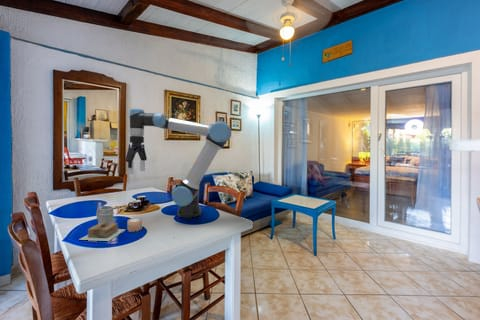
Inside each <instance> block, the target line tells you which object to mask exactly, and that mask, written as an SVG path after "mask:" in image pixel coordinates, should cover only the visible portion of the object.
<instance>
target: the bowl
mask: <svg viewBox="0 0 480 320" xmlns="http://www.w3.org/2000/svg"><path fill="white" fill-rule="evenodd" d="M126 226H127V230H128V231H127V232H129V233H134V232H135V231H136V232H139V230H140V231H142V230H143V219H142V218H141V217H133V218H129V219H128V220H127V225H126Z"/></svg>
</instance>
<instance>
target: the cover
mask: <svg viewBox="0 0 480 320" xmlns="http://www.w3.org/2000/svg"><path fill="white" fill-rule="evenodd" d="M118 229H119V223H118V222H114V223H99V224H98V223H97V224H96V225H93V226H91V227H90V228H88V229H87V235H88V237H90V238H108V237H109V236H111V235H113V234H114V233H116V232H117V231H118Z"/></svg>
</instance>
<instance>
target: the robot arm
mask: <svg viewBox="0 0 480 320" xmlns="http://www.w3.org/2000/svg"><path fill="white" fill-rule="evenodd" d="M128 118H129V130H128V131H129V135H130V136H129V144H128V147H127V148H128V149H127V153H126V156H125V162H126V163H127V174H128V175H129V174H130V175H133V174H134V168H135V167H134V159H135V157H136V155H137V154H138V157H139V172H145V170H146V168H145V167H146V161H148V160H147V159H148V158H147V154H146V149H145V144H144V143H145V137H144V136H145V127H156V128H160V129H164V130H171V131H176V132H180V133H187V134H192V135H197V136H202V137H203V136H204V137H205V139H204V140H205V143H204V145H203V146H202V148H201V150H200V152H199V154H198V156H197V157H196V159H195V161H194V163H193V164H192V165H191V168H190V170H189V171H188V173H187V175H186V176H185V177H183V178H181V179H180V181H179V183H178V185H177V187H175V188H174V189H173V191H172V193H171V198H172V201H173V202H174V204H175V205H177V206H179V207H178V209H177V217H179V218H181V217H183V218H182V219H193V218H192V217H195V218H197V217H196V216H199V215H200V214H201V215H202V209H201V206H200V203H199V201H200V183H201V182H202V180H203V177H204V176H205V174H206V172H207V171H208V169H209V168H210V166H211V164H212V162H213V161H214V159H215V157H216V156H217V154H218V152H219V151H220V150H223V148H224V147H225V145H226V143H227V142H228V141H229V140H230V138H231V137H232V130H231V127H230V125H229V124H228V123H227V122H225V121H221V120H219V121H215V122H213V123H210V124H205V123H203V122H196V121H190V120H184V119H180V118H179V119H178V118H174V117H169V116H168V117H167V116H165V113H159V112H156V113H155V112H153V113H152V112H150V113H149V112H145V110H144V109H141V108H131V109H130V111H129V117H128ZM201 215H200V216H201ZM200 216H199V217H200Z"/></svg>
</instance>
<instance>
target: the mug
mask: <svg viewBox="0 0 480 320" xmlns="http://www.w3.org/2000/svg"><path fill="white" fill-rule="evenodd" d="M97 204H98V205H97V209H96V214H95V215H96V220H97V221H98V222H97V224H99V223H116V222H115V219H114V214H115V212H114V207H113V206H112V205H111V206H109V205H107V206H102V202H97Z"/></svg>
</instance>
